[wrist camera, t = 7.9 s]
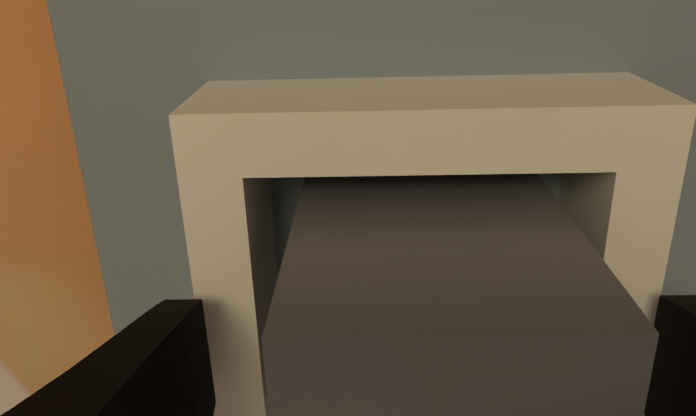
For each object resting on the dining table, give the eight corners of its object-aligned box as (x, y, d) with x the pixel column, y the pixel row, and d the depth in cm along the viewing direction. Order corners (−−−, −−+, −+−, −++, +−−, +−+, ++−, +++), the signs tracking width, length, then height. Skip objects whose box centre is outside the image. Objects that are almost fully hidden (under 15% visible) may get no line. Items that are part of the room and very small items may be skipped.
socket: (793, -129, 11) (977, -163, 7) (657, 481, 16) (731, 616, 13) (52, -105, 11) (-76, -127, 8) (162, 480, 17) (113, 609, 13)
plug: (521, 151, 12) (659, 333, 6) (507, 330, 13) (607, 604, 8) (310, 156, 12) (261, 337, 6) (320, 332, 13) (288, 602, 8)
